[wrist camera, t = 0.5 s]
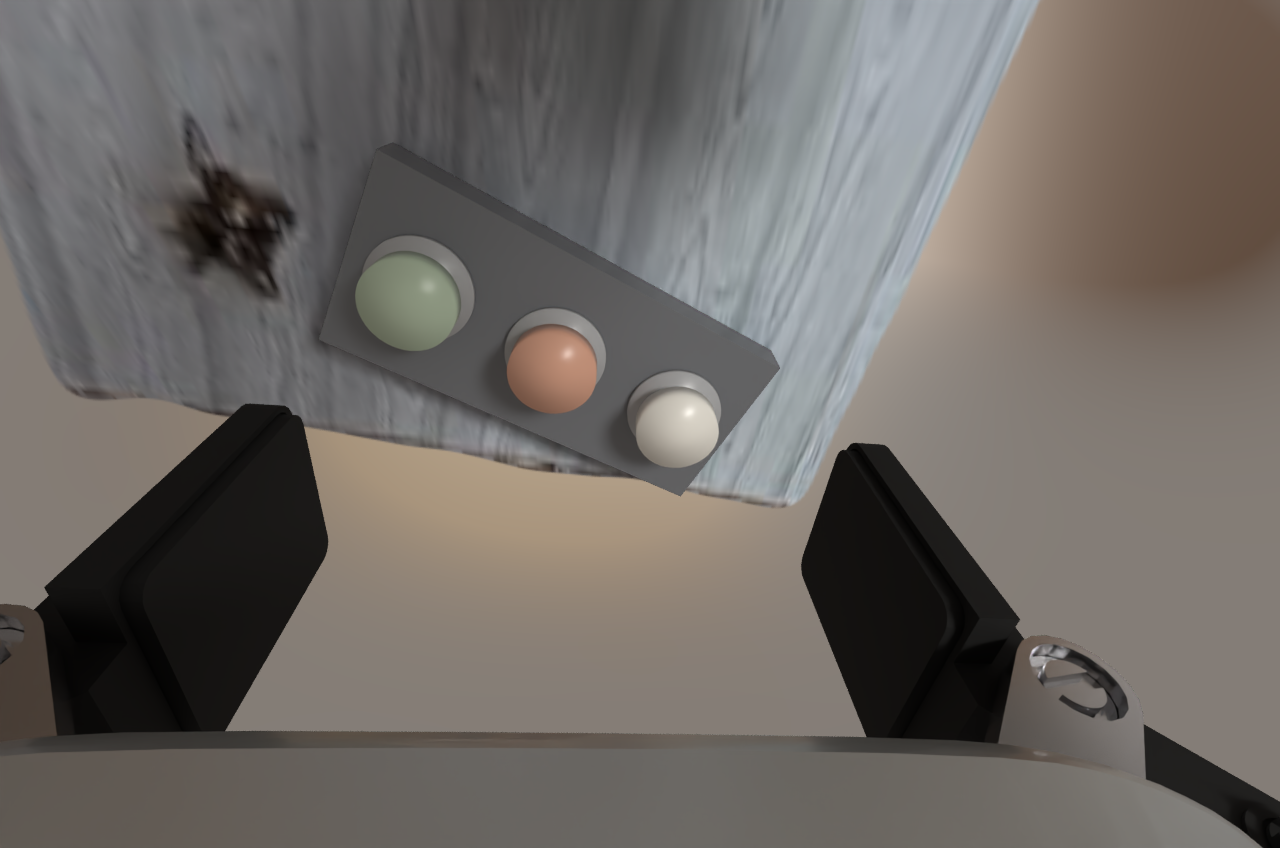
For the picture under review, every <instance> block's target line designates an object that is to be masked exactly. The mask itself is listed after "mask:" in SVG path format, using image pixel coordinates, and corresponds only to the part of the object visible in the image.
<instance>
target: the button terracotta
mask: <svg viewBox="0 0 1280 848" xmlns="http://www.w3.org/2000/svg"><path fill="white" fill-rule="evenodd" d="M596 376H597V358H596V354H595V351H594V349H593V347H592V345H591V344H590V342H589V341H588V340H587V339H586V338H585V337H584V336H583V335H582V334H581V333H579V332H578V331H576V330H574V329H572V328H570V327H567V326H564V325H559V324H543V325H539V326H536V327H533V328H531V329H529V330H528V331H526V332H525V333H523V334H522V335H521V336H520V337H519V339H518V340H517V341H516V343H515V345H514V347H513V349H512V352H511V355H510V358H509V361H508V365H507V379H508V383H509V385H510V388H511V389H512V391H513V393H514V394H515V396H516V397H517V398H518V399H519V400H520V401H521V402H522V403H524V404H525V405H527V406H528V407H530V408H532V409H534V410H537V411H540V412H544V413H550V414H558V413H565V412H569V411H572V410H574V409H576V408H578V407H580V406H581V405H582V404H584V403H585V402H586V401H587V400H588V399H589V397H590V396H591V394H592V392H593V390H594V388H595V384H596Z"/></svg>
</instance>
